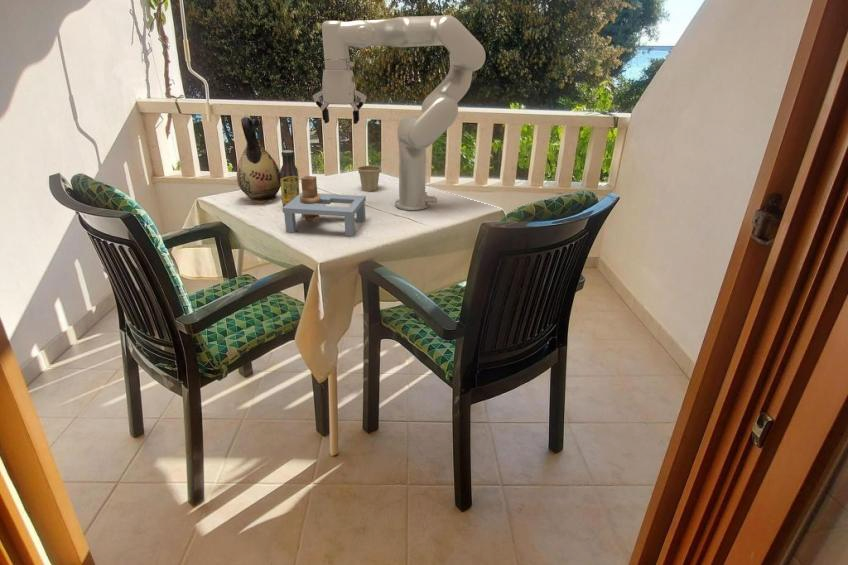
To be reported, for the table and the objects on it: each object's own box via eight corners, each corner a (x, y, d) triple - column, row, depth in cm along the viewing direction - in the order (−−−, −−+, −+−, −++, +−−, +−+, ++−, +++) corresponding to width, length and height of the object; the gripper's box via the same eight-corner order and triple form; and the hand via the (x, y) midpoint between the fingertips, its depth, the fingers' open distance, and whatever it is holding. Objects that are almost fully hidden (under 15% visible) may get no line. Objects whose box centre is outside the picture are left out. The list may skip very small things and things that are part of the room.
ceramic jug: (246, 193, 190) (234, 112, 177) (286, 193, 191) (278, 112, 178) (234, 207, 175) (220, 119, 161) (278, 207, 176) (268, 120, 163)
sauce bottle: (284, 211, 172) (278, 153, 163) (280, 206, 177) (274, 150, 168) (303, 208, 175) (298, 152, 166) (298, 203, 180) (293, 148, 171)
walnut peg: (324, 216, 162) (321, 175, 156) (318, 222, 156) (315, 180, 150) (306, 215, 163) (302, 174, 157) (299, 221, 157) (295, 179, 151)
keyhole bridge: (303, 215, 169) (301, 192, 165) (366, 219, 166) (365, 196, 163) (285, 232, 154) (282, 207, 150) (353, 237, 151) (352, 212, 148)
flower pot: (358, 186, 202) (357, 165, 198) (381, 186, 203) (380, 165, 200) (358, 192, 194) (357, 171, 190) (381, 192, 195) (381, 170, 191)
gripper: (367, 65, 155) (369, 121, 163) (313, 64, 157) (319, 120, 164) (361, 66, 148) (364, 125, 156) (306, 66, 150) (311, 124, 158)
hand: (341, 122), depth 160 cm, fingers open, 9 cm apart
